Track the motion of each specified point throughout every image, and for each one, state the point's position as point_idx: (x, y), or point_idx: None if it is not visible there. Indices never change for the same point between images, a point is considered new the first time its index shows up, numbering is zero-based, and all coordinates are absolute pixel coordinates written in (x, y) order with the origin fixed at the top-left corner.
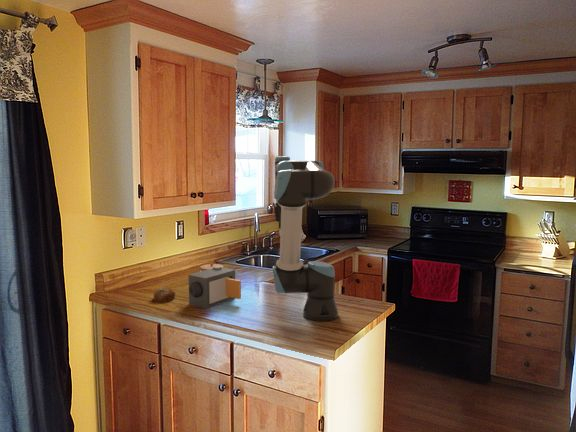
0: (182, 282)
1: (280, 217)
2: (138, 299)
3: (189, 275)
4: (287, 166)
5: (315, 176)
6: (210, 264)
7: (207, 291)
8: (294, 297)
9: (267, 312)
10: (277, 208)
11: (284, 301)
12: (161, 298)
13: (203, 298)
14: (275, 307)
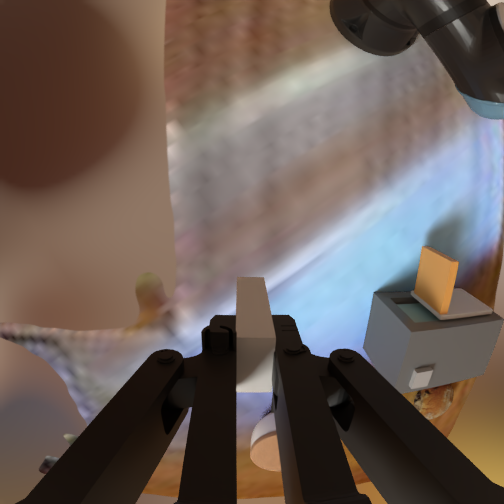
0: None
1: (362, 381)
2: (441, 416)
3: (484, 370)
4: None
5: None
6: (270, 465)
7: None
8: (274, 146)
9: (428, 144)
10: (472, 480)
11: (329, 150)
12: (451, 386)
13: None
14: (389, 145)
